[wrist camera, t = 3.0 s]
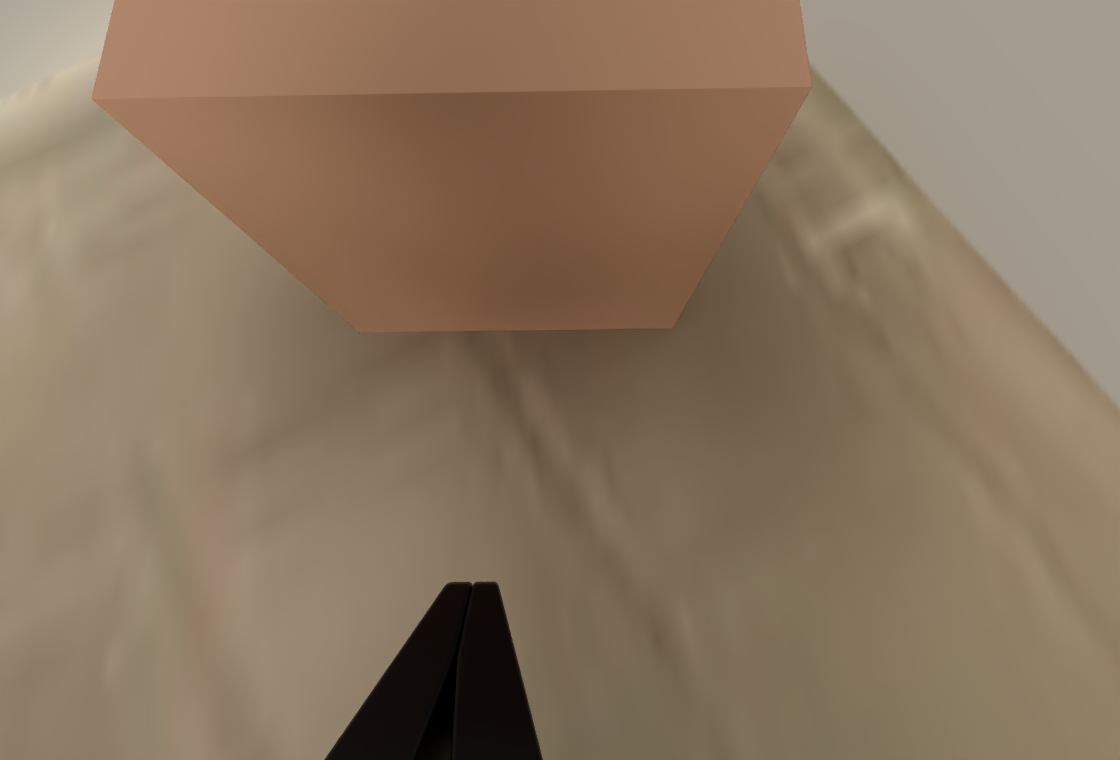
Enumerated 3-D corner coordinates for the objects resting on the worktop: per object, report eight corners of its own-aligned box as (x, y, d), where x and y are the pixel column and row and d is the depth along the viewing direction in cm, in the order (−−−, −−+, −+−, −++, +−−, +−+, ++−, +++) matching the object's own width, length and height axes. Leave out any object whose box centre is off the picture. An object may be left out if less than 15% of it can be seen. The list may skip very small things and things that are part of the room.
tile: (672, 328, 17) (811, 86, 7) (359, 332, 17) (90, 98, 7) (668, 262, 18) (793, -44, 8) (365, 266, 18) (122, -31, 8)
